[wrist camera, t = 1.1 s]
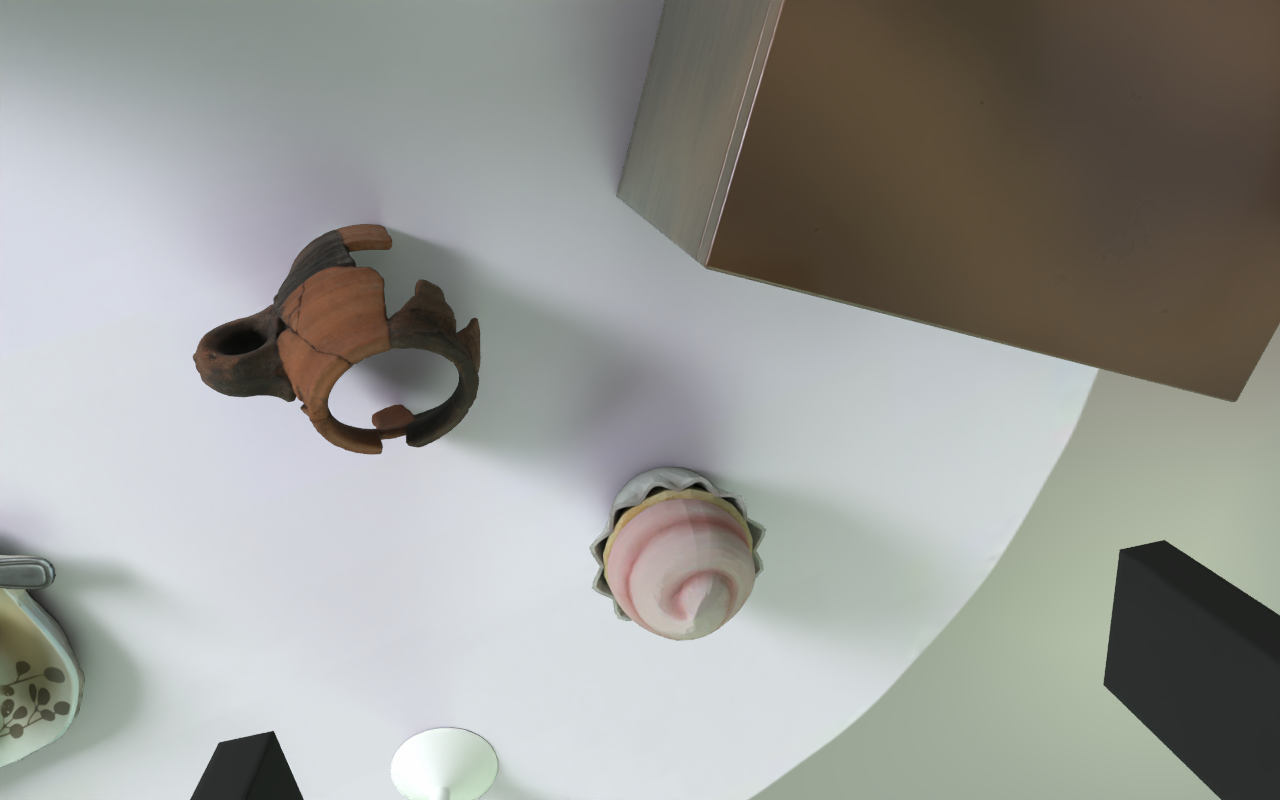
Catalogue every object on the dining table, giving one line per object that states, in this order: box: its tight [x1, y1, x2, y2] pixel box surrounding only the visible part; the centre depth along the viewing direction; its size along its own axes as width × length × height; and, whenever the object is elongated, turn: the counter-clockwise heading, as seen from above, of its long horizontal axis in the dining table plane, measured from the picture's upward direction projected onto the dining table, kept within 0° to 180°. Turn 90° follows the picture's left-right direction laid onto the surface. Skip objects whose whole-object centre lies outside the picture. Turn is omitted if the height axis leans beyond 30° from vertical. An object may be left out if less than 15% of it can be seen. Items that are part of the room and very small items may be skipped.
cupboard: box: [617, 0, 1280, 402], centre depth 26 cm, size 13×16×20 cm
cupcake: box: [590, 467, 766, 641], centre depth 37 cm, size 9×9×10 cm
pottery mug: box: [193, 224, 480, 454], centre depth 34 cm, size 12×10×8 cm
